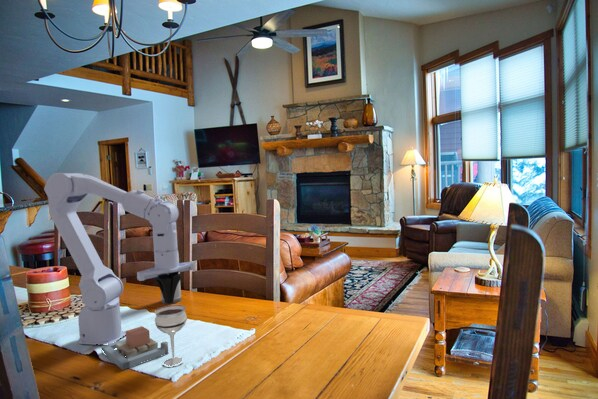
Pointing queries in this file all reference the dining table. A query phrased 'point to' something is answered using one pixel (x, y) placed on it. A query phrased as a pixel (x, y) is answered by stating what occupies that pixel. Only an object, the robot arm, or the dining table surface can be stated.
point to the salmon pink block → (137, 337)
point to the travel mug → (177, 293)
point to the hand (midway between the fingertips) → (168, 302)
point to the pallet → (132, 352)
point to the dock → (132, 361)
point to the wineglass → (171, 325)
